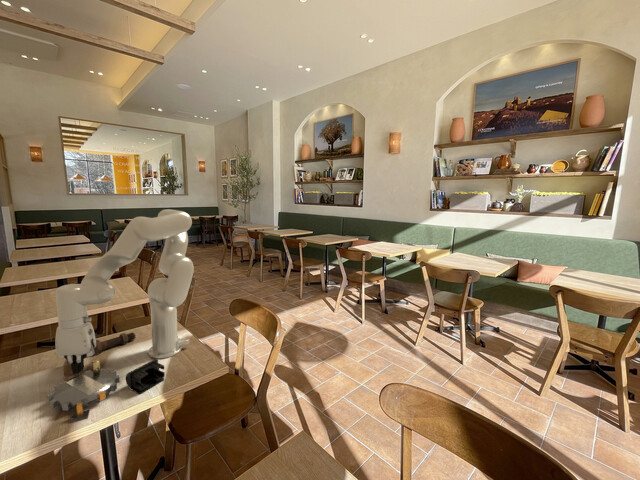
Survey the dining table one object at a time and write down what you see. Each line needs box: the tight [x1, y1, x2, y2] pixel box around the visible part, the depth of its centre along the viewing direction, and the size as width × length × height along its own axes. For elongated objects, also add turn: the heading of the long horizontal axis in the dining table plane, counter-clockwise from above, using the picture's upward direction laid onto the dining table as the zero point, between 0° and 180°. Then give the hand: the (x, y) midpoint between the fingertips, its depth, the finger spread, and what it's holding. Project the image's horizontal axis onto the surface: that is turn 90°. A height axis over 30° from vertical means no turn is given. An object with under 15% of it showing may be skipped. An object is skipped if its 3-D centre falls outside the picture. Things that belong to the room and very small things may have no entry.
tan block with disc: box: [62, 359, 82, 382], centre depth 110 cm, size 4×12×7 cm, turn 31°
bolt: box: [94, 332, 137, 355], centre depth 128 cm, size 6×5×15 cm
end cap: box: [125, 358, 165, 395], centre depth 104 cm, size 10×7×7 cm
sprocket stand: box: [70, 402, 90, 423], centre depth 93 cm, size 6×16×4 cm, turn 30°
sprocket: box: [47, 359, 121, 411], centre depth 97 cm, size 18×18×6 cm
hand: (78, 371), depth 102 cm, fingers closed
